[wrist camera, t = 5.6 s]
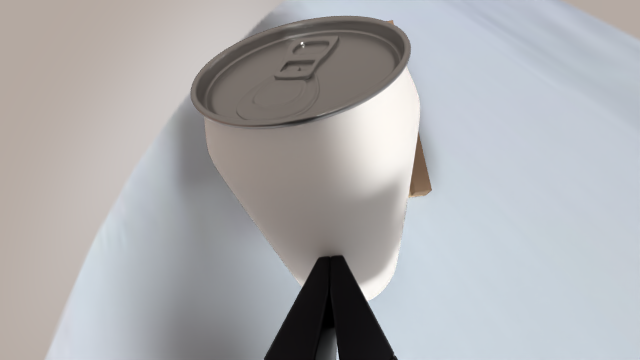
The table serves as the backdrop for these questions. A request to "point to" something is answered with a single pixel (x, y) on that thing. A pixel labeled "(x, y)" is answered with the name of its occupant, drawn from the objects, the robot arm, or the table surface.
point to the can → (318, 139)
